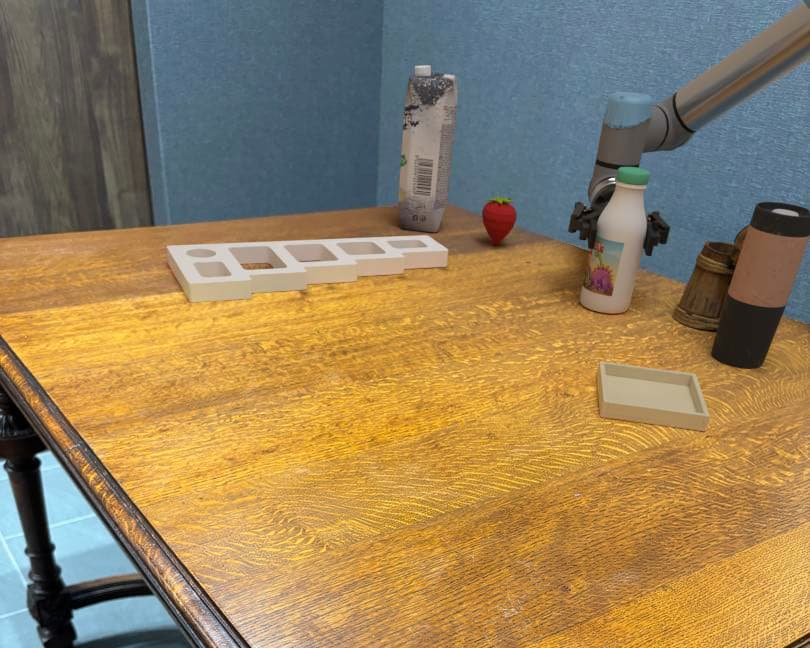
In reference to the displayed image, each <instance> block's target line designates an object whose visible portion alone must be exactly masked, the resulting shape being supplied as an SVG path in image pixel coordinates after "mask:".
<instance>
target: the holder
mask: <svg viewBox="0 0 810 648" xmlns="http://www.w3.org/2000/svg"><path fill="white" fill-rule="evenodd" d="M449 251H450V250H449V249H448V248H447V247H445V246H444V245H442V244H441V243H439V242H438V241H436V240H435V239H434V238H433V237H431V236H429V235H427V234H423V235H422V234H421V235H399V236H398V235H397V236H395V235H393V236H374V237H351V238H350V237H348V238H347V237H346V238H326V239H323V238H322V239H300V240H298V239H297V240H277V241H252V242H250V241H249V242H248V241H247V242H227V243H200V244H180V245H179V244H178V245H177V244H176V245H174V244H173V245H166V255H167V265H168V266H169V268H170V270H171V272H172V273H173V275H174V277H175V278H176V280H177V282H178V284H179V285H180V287H181V289H182V291H183V292H184V294H185V296H186V298H187V299H188V301H189V302H190V303H206V302H222V301H236V300H237V301H238V300H250V299H253V294H260V293H261V294H263V293H274V292H276V293H277V292H291V291H306V290H307V289H308V285H322V284H323V285H324V284H337V283H353V282H357V281H358V277H371V276H388V275H390V276H391V275H404V272H405V270H411V269H412V270H413V269H414V270H415V269H432V268H446V267H448V260H449ZM252 264H269V265H270V266H271V267H272V268H260V269H259V268H258V269H257V268H256V269H246V268H244V267H243V266H242V265H252Z"/></svg>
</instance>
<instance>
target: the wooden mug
mask: <svg viewBox="0 0 810 648" xmlns="http://www.w3.org/2000/svg"><path fill="white" fill-rule="evenodd" d="M749 225H750V223H749V224H748V225H745V227H743V228H742V229H741V230H740V231H739V232H738V233H737V234H736V236H735V238H734V240H733V243H729V242H723V241H712V240H711V241H706V242H705V243H704V244H703V248H702V249H701V251H700V252H699V253H698V255H697V257H696V259H695V265H694V267H693V270H692V273H691V275H690V277H689V279H688V282H687V284H686V286H685V289H684V290H683V293H682V296H681V298H680V300H679V302H678V304H676V306H675V308H674V310H673V313H672V317H673V318H674V320H676V321H677V322H679V323H680V324H683V325H685V326H687V327H689V328H693V329H698V330H703V331H709V332H717V329H718V326H719V322H720V318H721V315H722V311H723V308H724V304H725V300H726V297H727V294H728V290H729V287H730V284H731V281H732V278H733V274H734V271H735V268H736V265H737V262H738V259H739V256H740V253H741V250H742V247H743V243H744V240H745V237H746V234H747V231H748V228H749Z"/></svg>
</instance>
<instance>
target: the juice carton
mask: <svg viewBox="0 0 810 648" xmlns="http://www.w3.org/2000/svg"><path fill="white" fill-rule="evenodd" d="M406 87H407V88H406V93H405V99H404V108H403V109H404V111H403V122H402V123H403V125H402V138H401V139H402V140H401V153H400V154H401V155H400V166H399V167H400V170H399V183H398V198H397V199H398V201H397V213H398V221H399V228H400V229H401V230H402V229H403V230H408V231H409V230H410V231H417V232H426V233H437V232H438V231H439V229H440V226H441V223H442V221H443V218H444V216H445V212H446V209H447V204H448V198H449V188H450V178H451V169H452V158H453V149H454V140H455V129H456V128H455V127H456V119H457V108H458V107H457V106H458V77H457V75H455V74H448V73H441V72H432V66H431V65H415V66H414V73H413V75H410V76H409V77H408V82H407V86H406Z"/></svg>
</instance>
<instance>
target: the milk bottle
mask: <svg viewBox="0 0 810 648" xmlns="http://www.w3.org/2000/svg"><path fill="white" fill-rule="evenodd" d="M650 177H651V171H649V170H647V169H644V168H641V167H639V168H635V167H620V168H619V169H618V171H617V176H616V182H615V184H616V188H615V191H614V194H613V196H612V198H611V200H610V201H609V203H608V204H607V206H606V207H605V209H604V210H603V212H602V213H601V215H600V217H599V219H598V221H597V235H596V240H595V244H594V249H589V253H588V258H587V263H586V267H585V272H584V277H583V280H582V281H583V282H582V286H581V292H580V297H579V301H580V304H581V306H583V307H585V308H586V309H588V310H591V311H595V312H597V313H603V314H623V313H625V312H627V311H628V309H629V308H630V305H631V301H632V297H633V293H634V289H635V285H636V282H637V277H638V273H639V269H640V264H641V261H642V255H643V251H644V242H645V238H646V230H647V221H646V211H645V210H646V209H645V199H644V197H645V191H646V189H647V188H648V183H649V182H650Z"/></svg>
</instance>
